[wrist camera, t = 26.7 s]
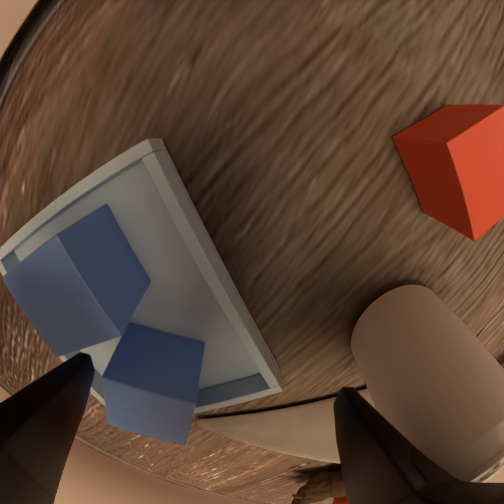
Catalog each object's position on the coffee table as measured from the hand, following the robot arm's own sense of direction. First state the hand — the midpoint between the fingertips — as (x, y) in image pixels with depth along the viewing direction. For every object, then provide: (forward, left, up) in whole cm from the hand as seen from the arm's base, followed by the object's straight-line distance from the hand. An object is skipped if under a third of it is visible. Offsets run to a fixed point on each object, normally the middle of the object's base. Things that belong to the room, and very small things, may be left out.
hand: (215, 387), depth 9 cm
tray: (-1, -5, -7) cm, 9 cm away
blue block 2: (+3, -5, -6) cm, 8 cm away
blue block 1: (-4, -5, -6) cm, 9 cm away
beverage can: (+7, +8, -7) cm, 13 cm away
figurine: (+26, -6, -4) cm, 27 cm away
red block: (-2, +13, -7) cm, 15 cm away
